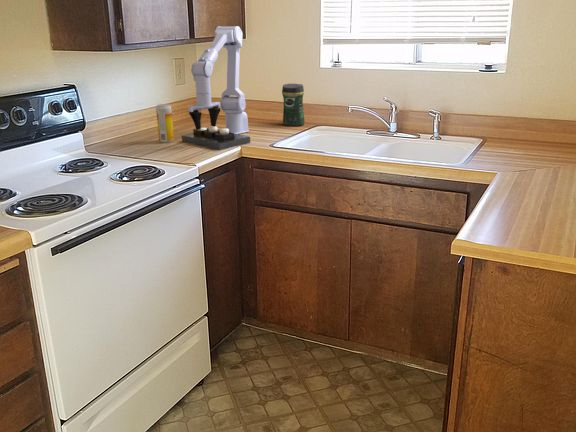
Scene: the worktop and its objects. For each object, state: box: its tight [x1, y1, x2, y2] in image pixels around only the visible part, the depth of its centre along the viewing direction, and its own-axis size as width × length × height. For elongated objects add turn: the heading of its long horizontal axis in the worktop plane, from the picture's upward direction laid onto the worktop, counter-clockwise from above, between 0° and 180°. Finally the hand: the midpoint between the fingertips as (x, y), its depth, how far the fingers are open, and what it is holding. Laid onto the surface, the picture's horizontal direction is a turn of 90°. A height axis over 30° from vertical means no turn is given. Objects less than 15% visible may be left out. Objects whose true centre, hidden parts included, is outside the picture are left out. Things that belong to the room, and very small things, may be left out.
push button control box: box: [181, 127, 251, 151], centre depth 237 cm, size 16×26×5 cm, turn 46°
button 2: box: [207, 125, 219, 133], centre depth 234 cm, size 4×4×2 cm
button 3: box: [219, 127, 229, 135], centre depth 230 cm, size 4×4×2 cm
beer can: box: [155, 103, 175, 144], centre depth 237 cm, size 6×6×15 cm
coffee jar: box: [281, 83, 305, 127], centre depth 265 cm, size 10×8×19 cm
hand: (205, 127), depth 232 cm, fingers open, 7 cm apart
